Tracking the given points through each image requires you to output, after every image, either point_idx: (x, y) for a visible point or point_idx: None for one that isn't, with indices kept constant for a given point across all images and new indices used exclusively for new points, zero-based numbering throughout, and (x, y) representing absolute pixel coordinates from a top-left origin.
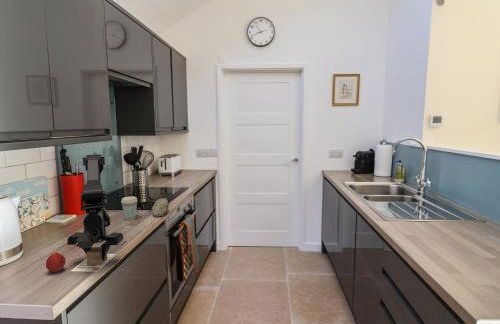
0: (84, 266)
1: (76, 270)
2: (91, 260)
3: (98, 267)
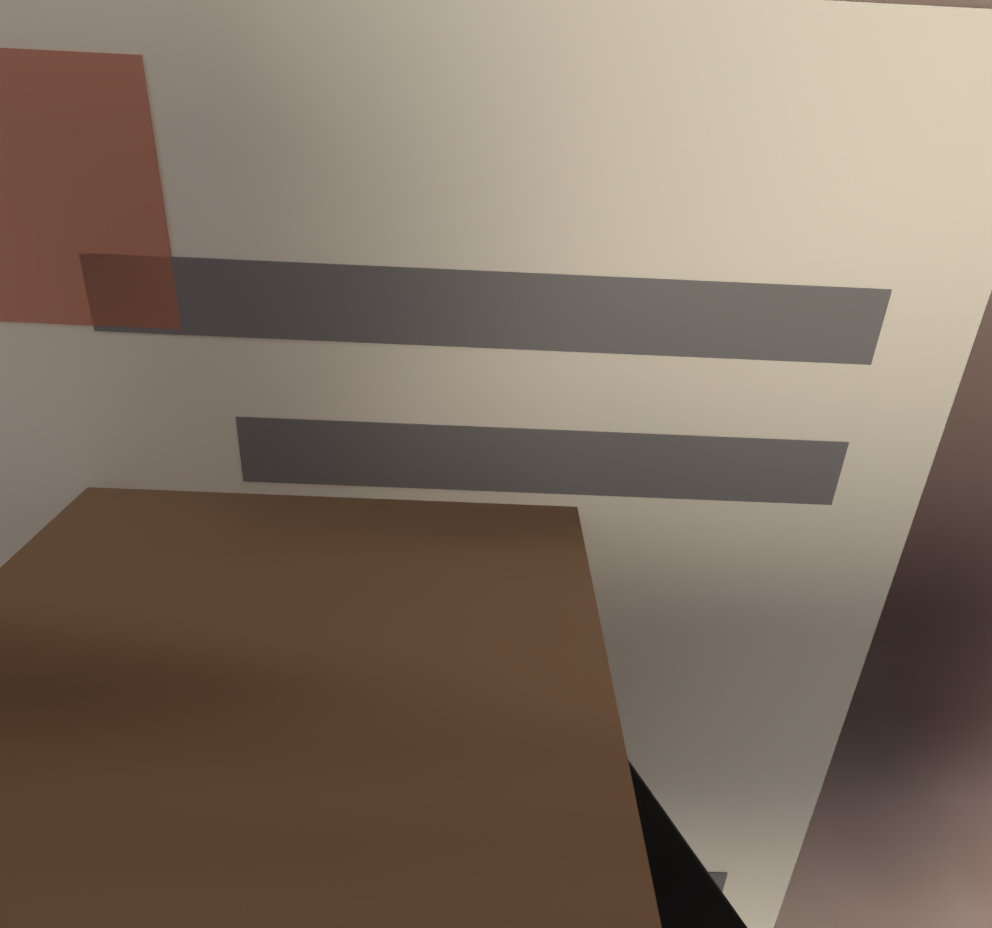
0: (629, 415)
1: (823, 82)
2: (383, 614)
3: (22, 318)
